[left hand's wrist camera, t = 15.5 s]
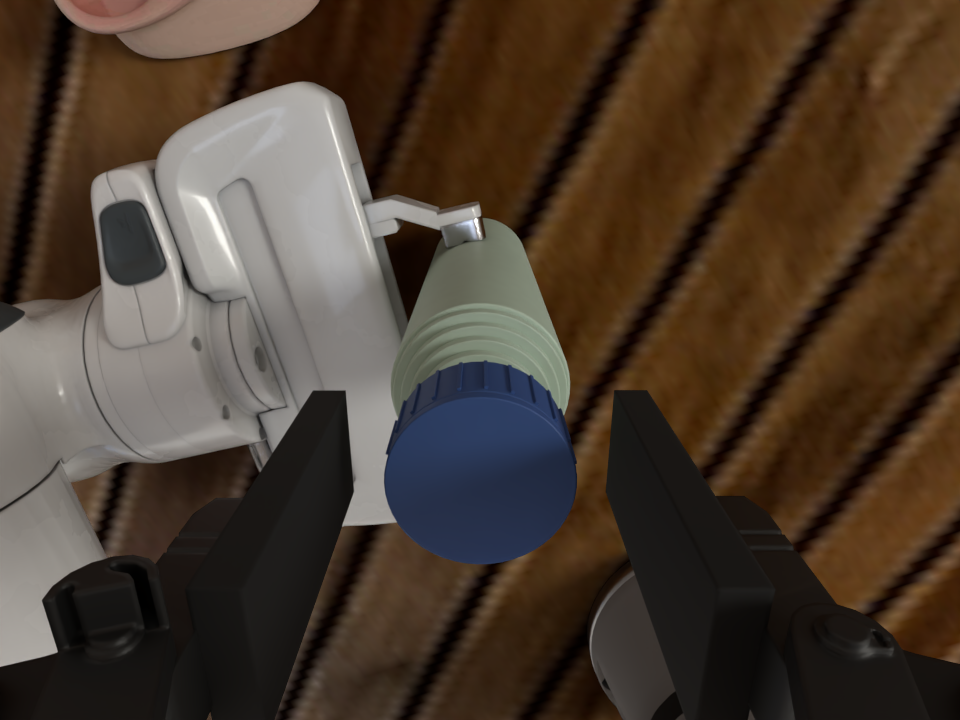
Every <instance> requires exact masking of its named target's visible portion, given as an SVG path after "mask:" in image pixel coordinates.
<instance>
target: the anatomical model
mask: <svg viewBox="0 0 960 720" xmlns="http://www.w3.org/2000/svg"><path fill="white" fill-rule="evenodd" d="M54 1H55V3H56V4H57V6H58V7H59V8H60V10H61V11H62V12H63V13H64V15H65V16H66V17H67V18H68V19H69V20H71V21H72V22H73V23H74V24H76V25H77V26H79V27H80V28H83V29H85V30H87V31H90V32H93V33H99V34H116V35H117V37H118V38H119V39H120V40H121V41H122V42H123V43H124V44H125V45H126V46H128V47H129V48H130V49H132V50H133V51H135V52H137V53H139V54H141V55H144V56H147V57H151V58H159V59H170V58H186V57H192V56H198V55H204V54H210V53H214V52H219V51H223V50H227V49H231V48H235V47H238V46H242V45H245V44H249V43H252V42H255V41H258V40H261V39H264V38H267V37H270V36H272V35H274V34H276V33H279V32H281V31H283V30H286V29H287V28H289V27H291V26H293V25H295V24H296V23H298V22H299V21H300V20H302V19H303V18H304V17H306V16H307V15H308V14H309V13H310V12H311V11H312V10H313V9H314V7H315V6H316V5H317V4H318V2H319V1H320V0H54Z"/></svg>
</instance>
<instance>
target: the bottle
mask: <svg viewBox="0 0 960 720" xmlns="http://www.w3.org/2000/svg"><path fill="white" fill-rule="evenodd" d="M483 223H484V227H485V232H486V238H485V239H483V240H480V241H475V242H469V241H466V240H465V241H464V242H463V243H462V244H461V245H458V246H455V247H451V248H446V246H445V242H444V239H443V237H442V238H441V240H440V242H439V244H438V246H437V248H436V251H435V254H434V256H433V259H432V262H431V265H430V267H429V270H428V273H427V275H426V278H425V281H424V283H423V286H422V289H421V291H420V294H419V297H418V299H417V302H416V305H415V307H414V310H413V313H412V316H411V318H410V321H409V324H408V326H407V329H406V332H405V334H404V337H403V340H402V342H401V345H400V348H399V350H398V353H397V356H396V359H395V361H394V364H393V369H392V373H391V397H392V402H393V406H394V409H395V412H396V415H397V417H399V414H400V410H401V407H402V403H403V401H404V400H405V401H406V400H407V399H408V397H409V396H410V395H411V393H412V392H413V391H414V390H415V389H416V386H417V384H418V383H420V384H421V383H422V382H423V381H424V380H426V379H427V378H428V377H430V376H431V375H433V374H435V373H436V371H437V370H443V369H445V368H447V367H450V366H454V365H457V364H459V362H463V363H467V362H481V361H484V360H487V362H495V363H499V364H504V365H508V364H509V365H512V367H513V368H516V369H518V370H520V371H522V372H524V373H526V374H528V375H529V376H530V374H531V375H532V376H533V377H534V379H535V380H536V381H538V382H539V383H540V384H541V385H542V386H543V387H544V388H545V389H546V390H548V389H549V390H550V392H551V395H552V398H553V399H554V401H555V403H556V404H557V406H558V409H560V408H561V409H562V412H563V415H564V414H565V411H566V408H567V405H568V400H569V394H570V378H569V371H568V366H567V362H566V359H565V357H564V354H563V352H562V349H561V346H560V344H559V341H558V338H557V336H556V333H555V330H554V328H553V325H552V322H551V320H550V317H549V314H548V312H547V309H546V306H545V304H544V301H543V298H542V296H541V293H540V290H539V288H538V285H537V282H536V280H535V277H534V274H533V272H532V269H531V266H530V264H529V261H528V258H527V256H526V253H525V250H524V248H523V245H522V243H521V241H520V240H519V238H518V237H517V235H516V234H515V233H514V232H513V231H512V230H511V229H510V228H508V227H507V226H506V225H504V224H502V223H500V222H498V221H496V220H492V219H487V218H483Z"/></svg>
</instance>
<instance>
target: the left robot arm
mask: <svg viewBox="0 0 960 720" xmlns="http://www.w3.org/2000/svg"><path fill="white" fill-rule="evenodd" d="M353 493H354V484H353V472H352V460H351V448H350V436H349V424H348V412H347V401H346V390H313V391H312V393H311V394H310V396H309V397H308V399H307V400H306V402H305V404H304V405H303V407H302V408H301V410H300V411H299V413H298V414H297V416H296V417H295V419H294V421H293V422H292V424H291V425H290V427H289V428H288V430H287V431H286V433H285V434H284V436H283V438H282V439H281V441H280V442H279V444H278V445H277V447H276V448H275V450H274V452H273V453H272V455H271V456H270V458H269V459H268V461H267V462H266V464H265V465H264V467H263V469H262V470H261V472H260V473H259V475H258V476H257V478H256V479H255V481H254V482H253V484H252V486H251V487H250V489H249V490H248V492H247V493H246V495H245V496H244V498H216V499H214V500H213V501H211V502H210V503H208V504H207V505H205V506H204V507H203V508H201V509H200V510H198V511H197V512H195V513H194V514H193V515H192V516H191V518H190V519H189V520H188V522H187V523H186V524H185V526H184V527H183V528H182V530H181V531H180V532H179V537H176V538H175V539H174V540H173V542H172V543H171V544H170V546H169V547H168V548H167V553H164V554H163V555H162V556H161V558H160V559H159V560H158V562H157V563H156V564H154V563H153V562H152V561H151V560H150V559H149V558H144V557H140V556H135V555H127V556H114V557H110V558H106V559H103V560H99V561H95V562H92V563H90V564H87V565H85V566H83V567H81V568H79V569H77V570H75V571H73V572H71V573H69V574H68V575H67V576H65V577H64V578H62V579H61V580H60V581H58V582H57V583H56V584H54V585H53V586H52V587H51V589H50V590H49V591H48V593H47V594H46V595H45V596H44V598H43V599H42V603H43V606H44V609H45V612H46V616H47V619H48V622H49V625H50V628H51V632H52V635H53V638H54V641H55V644H56V647H57V651H58V652H57V653H54V654H51V655H47V656H44V657H40V658H35V659H31V660H27V661H23V662H18V663H14V664H10V665H6V666H1V667H0V720H206V719H207V717H208V715H209V713H210V712H211V717H212V720H274V719H275V716H276V714H277V711H278V708H279V705H280V702H281V699H282V696H283V694H284V691H285V688H286V685H287V682H288V679H289V676H290V674H291V671H292V668H293V665H294V662H295V659H296V656H297V654H298V651H299V648H300V645H301V642H302V639H303V636H304V633H305V631H306V628H307V625H308V622H309V619H310V616H311V613H312V611H313V608H314V605H315V602H316V599H317V596H318V593H319V591H320V588H321V585H322V582H323V579H324V576H325V573H326V571H327V568H328V565H329V562H330V559H331V556H332V553H333V551H334V548H335V545H336V542H337V539H338V536H339V533H340V531H341V528H342V525H343V522H344V519H345V516H346V513H347V511H348V508H349V505H350V502H351V499H352V496H353ZM606 493H607V496H608V499H609V502H610V505H611V508H612V511H613V513H614V516H615V519H616V522H617V525H618V528H619V531H620V533H621V536H622V539H623V542H624V545H625V548H626V551H627V554H628V556H629V559H630V561H629V562H627V563H626V564H625V565H624V566H622V567H621V568H620V569H619V570H618V571H617V572H616V573H615V574H613V575H612V576H611V578H610V579H609V580H608V581H607V582H606V583H605V585H604V586H603V587H602V589H601V590H600V592H599V593H598V595H597V597H596V599H595V601H594V603H593V606H592V608H591V611H590V614H589V619H588V625H587V639H588V645H589V650H590V655H591V660H592V664H593V667H594V670H595V673H596V675H597V677H598V680H599V682H600V684H601V686H602V688H603V690H604V692H605V693H606V695H607V696H608V698H609V699H610V700H611V702H612V703H613V704H614V705H615V706H616V707H617V709H618V711H619V713H620V715H621V717H622V719H623V720H960V664H957V663H953V662H949V661H944V660H940V659H936V658H931V657H927V656H923V655H919V654H915V653H911V652H908V651H905V650H902V649H901V647H900V646H899V644H898V643H897V641H896V640H895V638H894V637H893V635H892V634H890V633H889V632H888V631H887V630H886V629H884V628H883V627H882V626H881V625H880V624H879V623H877V622H876V621H875V620H873V619H871V618H869V617H867V616H865V615H863V614H862V613H860V612H858V611H856V610H853V609H850V608H847V607H843V606H840V605H837V604H836V603H835V601H834V600H833V599H832V597H831V596H830V595H829V593H828V592H827V591H826V589H825V588H824V587H823V585H822V584H821V583H820V581H819V580H818V579H817V577H816V576H815V575H814V573H813V572H812V571H811V569H810V568H809V567H808V565H807V564H806V563H805V561H804V560H803V559H802V558H801V556H800V555H799V554H798V552H797V551H794V550H793V546H792V544H791V543H790V542H789V540H788V539H787V538H786V536H785V535H782V533H781V530H780V528H779V527H778V526H777V524H776V523H775V522H774V520H773V519H772V518H771V516H770V515H769V514H768V513H767V512H766V511H765V510H763V509H762V508H760V507H759V506H758V505H756V504H755V503H753V502H752V501H750V500H749V499H748V498H746V497H745V496H715V495H714V493H713V492H712V490H711V489H710V487H709V486H708V484H707V482H706V481H705V479H704V478H703V476H702V475H701V473H700V472H699V470H698V469H697V467H696V465H695V464H694V462H693V461H692V459H691V458H690V456H689V455H688V453H687V452H686V450H685V448H684V447H683V445H682V444H681V442H680V441H679V439H678V438H677V436H676V435H675V433H674V431H673V430H672V428H671V427H670V425H669V424H668V422H667V421H666V419H665V417H664V416H663V414H662V413H661V411H660V410H659V408H658V407H657V405H656V404H655V402H654V400H653V399H652V397H651V396H650V394H649V393H648V391H647V390H614V400H613V412H612V424H611V436H610V448H609V460H608V472H607V484H606Z"/></svg>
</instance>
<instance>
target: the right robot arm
mask: <svg viewBox="0 0 960 720" xmlns="http://www.w3.org/2000/svg"><path fill="white" fill-rule="evenodd" d="M91 204H92V212H93V218H94V225H95V232H96V240H97V247H98V256H99V265H100V275H101V285H100V286H98V287H96V288H95V289H93V290H92V291H90V292H89V293H87V294H85V295H83V296H81V297H79V298H76V299H72V300H58V299H40V300H32V301H27V302H23V303H19V304H15V305H9V304H6V303H3V302H0V667H1V666H6V665H10V664H14V663H18V662H23V661H27V660H31V659H35V658H40V657H44V656H47V655H51V654H54V653H57V652H58V651H57V647H56V644H55V641H54V638H53V635H52V632H51V628H50V625H49V622H48V619H47V616H46V612H45V609H44V606H43V603H42V599H43V598H44V596H45V595H46V594H47V593H48V591H49V590H50V589H51V587H52V586H53V585H54V584H56V583H57V582H58V581H60V580H61V579H62V578H64V577H65V576H67V575H68V574H69V573H71V572H73V571H75V570H77V569H79V568H81V567H83V566H85V565H87V564H90V563H92V562H95V561H99V560H103V559H106V558H107V556H106V554H105V552H104V550H103V548H102V546H101V544H100V542H99V540H98V538H97V536H96V534H95V532H94V530H93V528H92V526H91V524H90V522H89V519H88V517H87V515H86V513H85V511H84V509H83V507H82V505H81V503H80V501H79V499H78V497H77V495H76V493H75V491H74V489H73V487H72V485H71V482H76V481H80V480H84V479H87V478H91V477H94V476H97V475H99V474H101V473H103V472H105V471H107V470H109V469H110V468H112V467H114V466H116V465H118V464H120V463H124V462H139V463H163V462H168V461H173V460H177V459H182V458H187V457H191V456H196V455H201V454H205V453H210V452H214V451H218V450H223V449H228V448H233V447H237V446H242V445H247V446H248V448H249V451H250V453H251V456H252V458H253V460H254V463H255V465H256V467H257V469H258V471H259V472H261V470H262V469H263V467H264V465H265V464H266V462H267V461H268V459H269V458H270V456H271V455H272V453H273V452H274V450H275V448H276V447H277V445H278V444H279V442H280V441H281V439H282V438H283V436H284V434H285V433H286V431H287V430H288V428H289V427H290V425H291V424H292V422H293V421H294V419H295V417H296V416H297V414H298V413H299V411H300V410H301V408H302V407H303V405H304V404H305V402H306V400H307V399H308V397H309V396H310V394H311V393H312V391H313V390H346V401H347V412H348V424H349V436H350V448H351V460H352V472H353V484H354V493H353V496H352V499H351V502H350V505H349V508H348V511H347V513H346V516H345V519H344V522H343V525H342V527H343V526H357V525H375V524H386V523H396V522H397V521H396V520H395V518H394V516H393V515H392V513H391V510H390V508H389V505H388V503H387V499H386V495H385V488H384V471H385V466H386V461H387V457H388V455H386V450H387V447H388V443H389V440H390V437H391V433H392V430H393V426H394V423H395V420H397V421H398V417H397V415H396V412H395V409H394V406H393V402H392V397H391V373H392V369H393V364H394V361H395V359H396V356H397V353H398V350H399V348H400V345H401V342H402V340H403V337H404V334H405V332H406V329H407V326H408V324H409V323H408V319H407V316H406V312H405V309H404V305H403V302H402V299H401V295H400V292H399V288H398V285H397V281H396V278H395V274H394V271H393V268H392V264H391V261H390V257H389V254H388V250H387V247H386V243H385V240H384V237H383V236H385V235H389V234H393V233H397V231H398V230H399V229H400V228H401V226H402V225H403V223H404V221H403V220H405V221H409V222H412V223H416V224H420V225H423V226H427V227H430V228H434V229H437V230H441V231H442V235H443V239H444V242H445V246H446V248H451V247H455V246H458V245H461V244H462V243H463V242H464V241H465V240H466V241H469V242H475V241H480V240H483V239H485V238H486V232H485V227H484V223H483V218H482V213H481V209H480V205H479V202H471V203H467V204H463V205H459V206H454V207H450V208H446V209H442V210H440V209H439V207H436V206H433V205H430V204H426V203H423V202H420V201H417V200H414V199H410V198H407V197H404V196H401V195H397V194H396V195H392V196H388V197H384V198H380V199H376V200H373V199H372V195H371V192H370V188H369V185H368V181H367V178H366V175H365V171H364V168H363V164H362V161H361V157H360V154H359V150H358V147H357V144H356V140H355V137H354V133H353V130H352V126H351V123H350V119H349V116H348V112H347V109H346V106H345V103H344V101H343V100H342V99H341V98H340V97H339V96H338V95H336V94H334V93H333V92H331V91H329V90H328V89H326V88H324V87H322V86H320V85H317V84H315V83H311V82H295V83H291V84H287V85H283V86H279V87H276V88H273V89H270V90H267V91H264V92H261V93H258V94H255V95H252V96H249V97H247V98H244V99H241V100H239V101H236V102H234V103H231V104H229V105H227V106H224V107H222V108H219V109H217V110H215V111H213V112H211V113H209V114H207V115H204V116H202V117H200V118H198V119H196V120H194V121H192V122H190V123H189V124H187V125H185V126H183V127H182V128H180V129H179V130H178V131H176V132H175V133H174V134H173V135H172V136H170V137H169V139H168V140H167V141H166V142H165V143H164V145H163V146H162V148H161V149H160V152H159V154H158V156H157V159H156V160H147V161H140V162H136V163H131V164H127V165H124V166H120V167H117V168H114V169H112V170H109V171H107V172H105V173H102V174H100V175H98V176H97V177H96V178H95V179H94V180H93V182H92V186H91Z"/></svg>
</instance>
